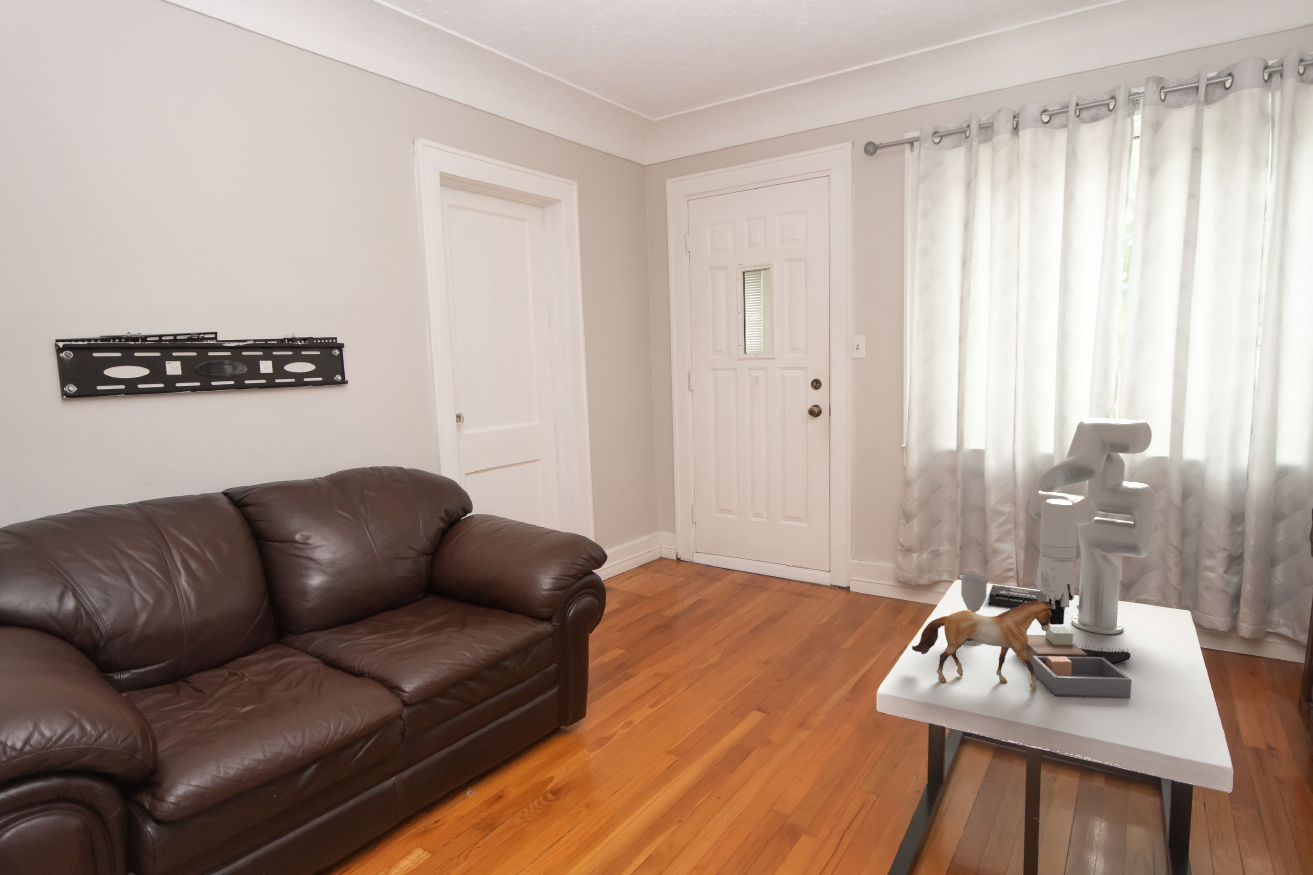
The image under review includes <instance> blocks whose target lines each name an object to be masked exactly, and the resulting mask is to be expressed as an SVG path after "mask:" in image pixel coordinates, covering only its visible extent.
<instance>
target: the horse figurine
mask: <svg viewBox="0 0 1313 875" xmlns="http://www.w3.org/2000/svg"><path fill="white" fill-rule="evenodd" d="M1050 602H1051V601H1047V602H1044V603H1043V602H1041V601H1037V600H1036V601H1031V602H1027V603H1023V604H1021V605H1019V606H1017V607H1015V608H1010V609H1009V610H1006V611H1003V612H1001V613H1000V614H997V615H993V616H988V615H983V614H979V613H976V612H975V613H974V612H971V611H970V610H968V609H966V610H965V609H963V610H960V611H955V612H954V613H951V614H949V615H947V616H946V615H945V616H941V617H938V618H936V619H933V620H932V621H930V622H929V623H927V625H926V626H925V627H924V629H923V631H921V632H922V633H921V635H920V640H919V642H918V644H917V645H912V646H911V649H912V650H913V651H914V652H915V653H917V652H918V653H920V654H921V655H926V654H927V653H928V652H929V651H930V649H931V648H932V647H933V646H934V645H935V644H936V642H937V641H938V639H939V629H940V628H941V627H943V626H944V627H943V629H944V630H943V631H944V636H945V640H946V643H947V646H946V648H945V649H944V651H943V652H941V653H940V654H939V662H938V663H939V664H938V667H937V669H936V674H938V676H937V679H938V681H939V682H941V683H947V679H946V676H945V675H944V672H943V670H944V669H943V668H944V664H945V662H946V661H947V659H948V658H949V657H950V656H951V657H952V659H953V661H954V663H955V666H956V667H957V669H956V673H957V675H958V676H960V678H962V677H963V676H964V670H963V666H962V662H960V659H959V658H958V656H957V652H958V650H959V649H960V648H961V647H962V646H963V645H965V644H966V643H965V642H966V641H972V640H974V641H976V642H979V643H982V644H981V645H987V646H993V647H1000V653H999V657H998V666H997V670H996V671H995V672H996V676H998V679H999V682H1000V683H1001V684H1008V681H1007V679H1006V678H1007V677H1005V676H1004V675H1003V674H1002V668H1003V665H1004V663H1005V661H1006V655H1007V653H1008V651H1009V649H1011V651H1013V653H1015V654H1016V656H1017V657H1018V658H1019V659H1020V660H1021V661H1022V663H1024V665H1025V666H1026V667H1027V669H1028V671H1029V673H1030V680H1031V682H1029V685H1028V686H1029V688H1030V689H1031V690H1032V691H1033V692H1036V690H1037V684H1036V682H1037V679H1036V677H1035V673H1034V668H1033V665H1032V663H1031V662H1030V659H1029V657H1028V654H1027V652H1026V650H1025V648H1026V646H1027V644H1028V638H1027V635H1028V633H1027V632H1028V629H1030V627H1031V625H1032V623H1033V622H1034V620H1035V619H1036V622H1038V623H1039V624H1040V628H1041V630H1042V631H1043V632H1046V631H1047V630H1048V629H1049V628H1050V627H1051V624H1050V623H1049V619H1050V617H1051V616H1052V613H1051V607H1053V606H1054V605H1055V604H1052V605H1048V604H1049V603H1050Z"/></svg>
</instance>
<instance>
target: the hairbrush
mask: <svg viewBox="0 0 1313 875" xmlns="http://www.w3.org/2000/svg"><path fill="white" fill-rule="evenodd" d="M1076 646H1077V647H1079V645H1076ZM1086 647H1087V648H1086ZM1079 648H1080V649H1081V650H1082V651H1084V652H1085V653H1086V654H1087V657H1103V658H1105V659H1106V660H1107V661H1108V662H1110V663H1111V664H1112V665H1114V666H1115V665H1119V664H1122V663H1125V662H1127V661H1129V660H1130V659H1131V652H1130V651H1129V649H1127V651H1124V650H1126V648H1123V647H1122V649H1121V648H1120V647H1118V648H1117V647H1116V648H1115V650H1114V648H1112V650H1110V648H1108V647H1105V649H1107V650H1104V649H1103V648H1104V647H1102V648H1101V646H1098V649H1097V648H1096V647H1094V646H1093V645H1092V646H1091V648H1090V646H1087V645H1086V644H1085V646H1084V648H1083V647H1079ZM1093 648H1094V649H1093ZM1117 649H1118V650H1120V651H1117Z"/></svg>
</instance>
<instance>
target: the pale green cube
mask: <svg viewBox="0 0 1313 875" xmlns="http://www.w3.org/2000/svg"><path fill="white" fill-rule="evenodd" d="M1045 635H1046V638H1047V639H1048V640H1049V641H1050V642H1051V643H1052V644H1054V645H1073V643H1074V642H1073V641H1074V633H1073V632H1072V631H1070V630H1069V629H1068V628H1066V626H1050V628H1049V629H1048V630H1047V631H1045Z"/></svg>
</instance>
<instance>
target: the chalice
mask: <svg viewBox="0 0 1313 875" xmlns="http://www.w3.org/2000/svg"><path fill="white" fill-rule="evenodd" d="M959 578H960V580H961V586H960V587H961V588H960V589H961V590H960V594H961V598H962V601H963V602H964V605H965V607H966V610H968V611H971V612H974V613H976V612H979V611H980V609H981V608H982V607H983V604H984V603H985V600H986V598H987V588H988V586H987V585H988V582H989V581H990V579H989V577H986V576H984V575H980V574H973V573H969V574H960V575H959ZM964 644H966V645H969V646H981V645H983V644H982V643H979V642H976V641H974V640H972V641H966V642H965V643H964Z"/></svg>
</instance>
